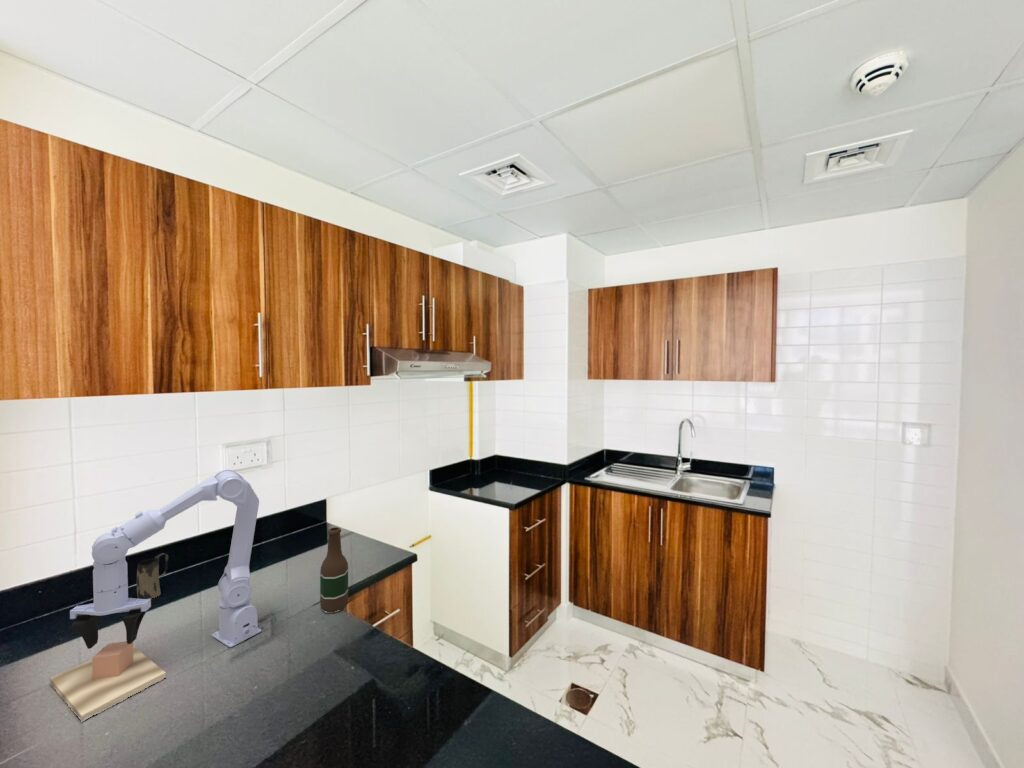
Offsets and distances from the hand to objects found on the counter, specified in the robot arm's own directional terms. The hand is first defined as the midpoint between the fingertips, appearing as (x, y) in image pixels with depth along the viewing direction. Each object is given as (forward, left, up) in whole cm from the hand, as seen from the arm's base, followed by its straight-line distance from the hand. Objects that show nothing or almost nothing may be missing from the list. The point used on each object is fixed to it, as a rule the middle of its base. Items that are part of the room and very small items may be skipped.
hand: (112, 643), depth 97 cm
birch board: (-1, +1, -8) cm, 8 cm away
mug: (+35, -20, -8) cm, 41 cm away
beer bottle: (-19, -45, -8) cm, 49 cm away
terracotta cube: (0, 0, -7) cm, 7 cm away
